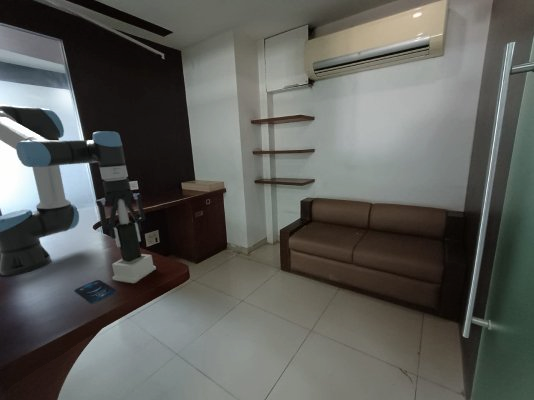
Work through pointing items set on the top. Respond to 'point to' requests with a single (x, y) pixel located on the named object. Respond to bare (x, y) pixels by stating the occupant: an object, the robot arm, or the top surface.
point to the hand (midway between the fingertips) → (128, 243)
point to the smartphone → (95, 291)
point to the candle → (127, 234)
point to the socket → (133, 269)
